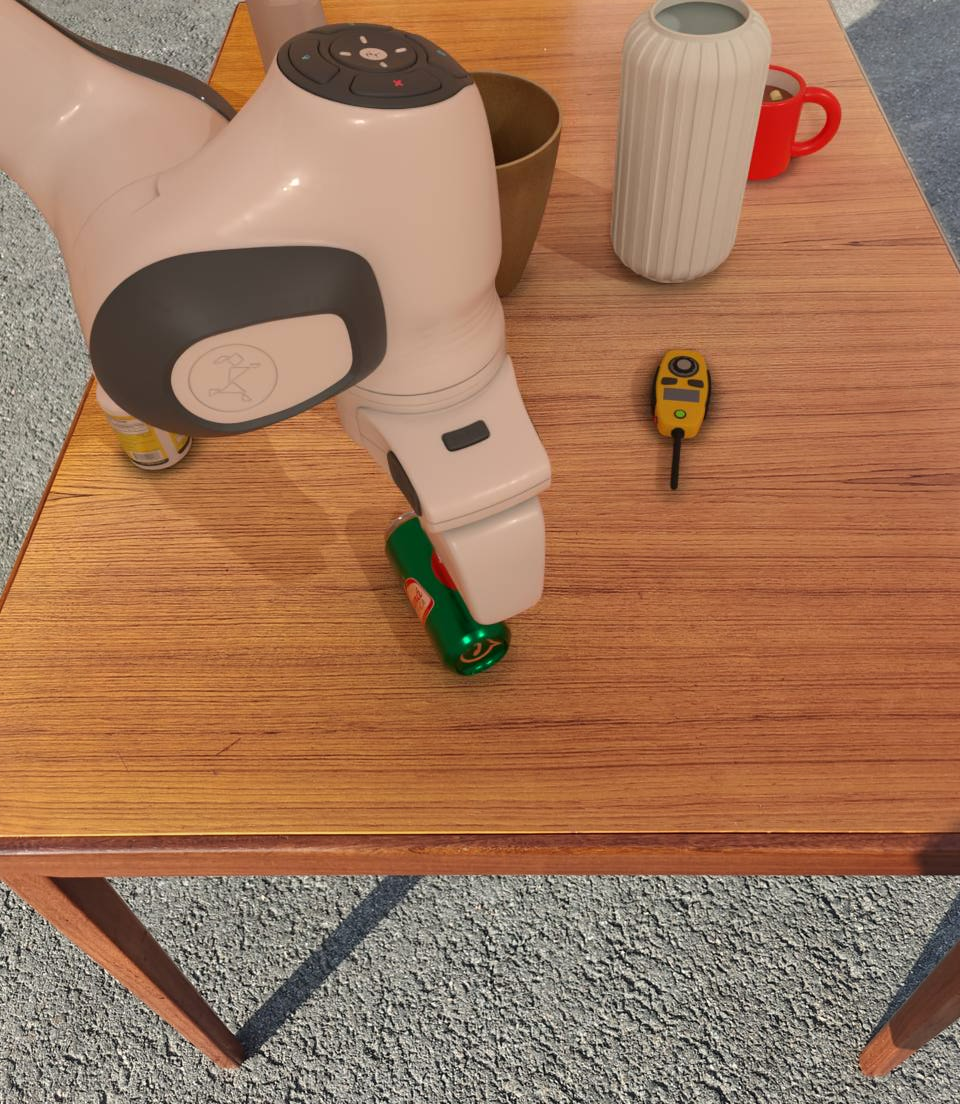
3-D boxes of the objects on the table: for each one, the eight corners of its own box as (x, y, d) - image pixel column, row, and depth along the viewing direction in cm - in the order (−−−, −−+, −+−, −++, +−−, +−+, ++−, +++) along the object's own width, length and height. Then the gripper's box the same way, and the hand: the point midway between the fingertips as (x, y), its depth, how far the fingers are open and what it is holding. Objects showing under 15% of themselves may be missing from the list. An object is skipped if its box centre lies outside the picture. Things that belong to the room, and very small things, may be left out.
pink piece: (399, 174, 99) (371, -30, 83) (275, 169, 101) (224, -32, 85) (412, 137, 103) (388, -65, 87) (293, 133, 105) (248, -65, 89)
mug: (835, 179, 94) (857, 103, 88) (715, 180, 95) (728, 105, 89) (824, 136, 99) (843, 62, 93) (710, 138, 100) (721, 64, 94)
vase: (740, 293, 85) (792, 44, 67) (614, 299, 85) (632, 53, 67) (720, 218, 92) (763, -27, 74) (603, 224, 92) (618, -18, 74)
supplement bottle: (173, 414, 80) (133, 325, 72) (205, 449, 77) (166, 360, 69) (117, 446, 78) (68, 358, 70) (147, 483, 75) (100, 396, 67)
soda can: (452, 690, 63) (386, 562, 70) (518, 657, 64) (447, 534, 70) (441, 655, 59) (372, 523, 65) (512, 621, 60) (437, 493, 66)
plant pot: (379, 261, 91) (352, 102, 78) (513, 213, 94) (508, 52, 81) (445, 351, 82) (427, 189, 70) (589, 295, 86) (598, 131, 73)
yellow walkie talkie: (714, 348, 78) (708, 482, 70) (711, 365, 80) (704, 499, 71) (656, 343, 79) (643, 476, 70) (654, 360, 80) (640, 493, 72)
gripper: (294, 279, 51) (339, 447, 63) (442, 542, 40) (464, 690, 51) (399, 245, 53) (424, 415, 64) (570, 490, 42) (564, 645, 53)
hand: (443, 540), depth 58 cm, fingers closed
